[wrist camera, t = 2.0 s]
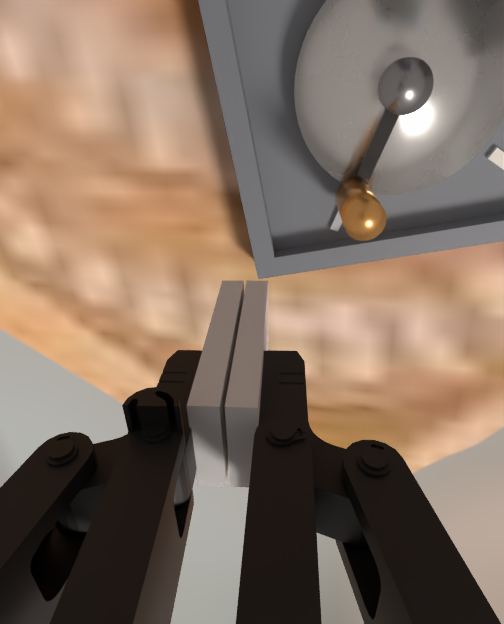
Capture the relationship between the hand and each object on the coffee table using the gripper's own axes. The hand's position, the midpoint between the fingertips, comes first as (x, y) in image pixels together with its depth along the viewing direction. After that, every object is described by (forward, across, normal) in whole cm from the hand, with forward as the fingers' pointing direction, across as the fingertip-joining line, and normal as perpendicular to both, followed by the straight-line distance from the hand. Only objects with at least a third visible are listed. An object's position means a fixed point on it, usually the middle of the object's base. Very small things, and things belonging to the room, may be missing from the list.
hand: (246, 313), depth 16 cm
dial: (+17, +8, +6) cm, 20 cm away
